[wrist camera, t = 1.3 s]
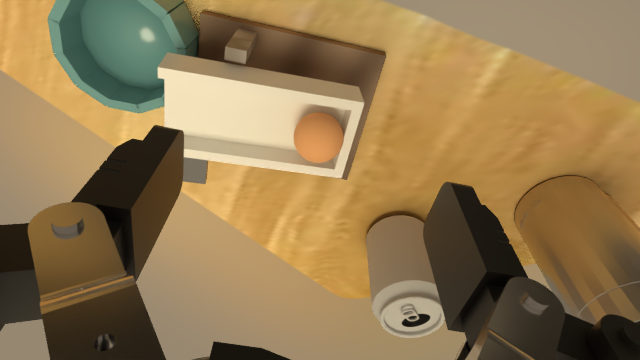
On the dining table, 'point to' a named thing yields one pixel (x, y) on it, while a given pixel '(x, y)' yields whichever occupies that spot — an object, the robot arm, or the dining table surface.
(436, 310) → the can
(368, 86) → the stand
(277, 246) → the dining table surface
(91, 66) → the teal round bowl
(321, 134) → the ball
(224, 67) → the cream shallow tray
